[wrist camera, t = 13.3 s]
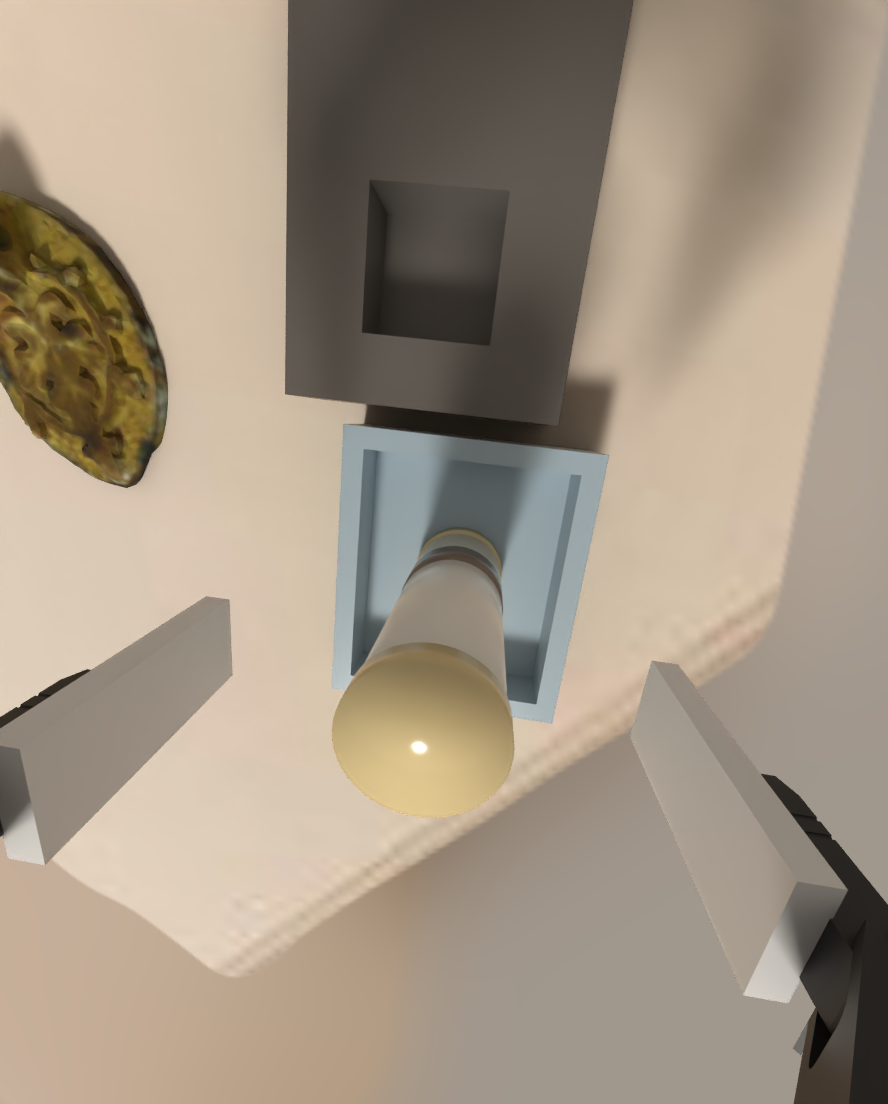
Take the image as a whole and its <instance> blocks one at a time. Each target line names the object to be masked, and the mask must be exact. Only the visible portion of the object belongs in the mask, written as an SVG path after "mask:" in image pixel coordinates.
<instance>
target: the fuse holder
mask: <svg viewBox="0 0 888 1104" xmlns="http://www.w3.org/2000/svg"><path fill="white" fill-rule="evenodd" d="M632 6H633V0H288V108H287V233H286V358H285V394H287V395H294V396H302V397H309V398H316V399H324V400H333V401H341V402H350V403H359V404H368V405H376V406H385V407H394V408H402V409H411V410H420V411H428V412H437V413H446V414H455V415H463V416H472V417H481V418H489V419H498V420H507V421H515V422H524V423H533V424H542V425H556V426H558V423H559V418H560V412H561V407H562V401H563V395H564V390H565V384H566V378H567V373H568V367H569V361H570V356H571V350H572V344H573V339H574V333H575V328H576V322H577V316H578V311H579V305H580V299H581V294H582V288H583V282H584V277H585V271H586V265H587V260H588V254H589V249H590V243H591V237H592V232H593V226H594V220H595V215H596V209H597V203H598V198H599V192H600V186H601V181H602V175H603V170H604V164H605V158H606V153H607V147H608V141H609V136H610V130H611V124H612V119H613V113H614V107H615V102H616V96H617V91H618V85H619V79H620V74H621V68H622V62H623V57H624V51H625V45H626V40H627V34H628V28H629V23H630V17H631V12H632Z"/></svg>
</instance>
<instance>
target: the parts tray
mask: <svg viewBox="0 0 888 1104" xmlns="http://www.w3.org/2000/svg"><path fill="white" fill-rule="evenodd" d="M608 459H609V455H605V454H602V453H598V452H595V451H589V450H581V449H572V448H564V447H555V446H547V445H538V444H530V443H521V442H513V441H504V440H496V439H487V438H479V437H470V436H462V435H453V434H445V433H436V432H428V431H420V430H411V429H403V428H394V427H386V426H377V425H369V424H343V447H342V470H341V492H340V515H339V537H338V560H337V583H336V605H335V628H334V651H333V673H332V689H338V690H344V691H346V689H347V687H348V685H349V684H350V682H351V680H352V678H353V677H354V675H355V674H356V672H357V671H358V670H359V669H360V667H361V666H362V665H363V664H364V663H365V661H366V659H367V657H368V655H369V654H370V652H371V650H372V648H373V646H374V644H375V642H376V640H377V638H378V636H379V634H380V632H381V631H382V629H383V627H384V625H385V623H386V621H387V619H388V617H389V615H390V613H391V611H392V609H393V608H394V606H395V604H396V602H397V600H398V598H399V596H400V594H401V591H402V588H403V586H404V584H405V582H406V580H407V578H408V576H409V574H410V573H411V571H412V569H413V567H414V566H415V564H416V561H417V558H418V556H419V554H420V552H421V550H422V548H423V546H424V545H425V543H426V542H427V541H428V540H429V539H430V538H431V537H432V536H434V535H435V534H437V533H439V532H441V531H443V530H446V529H450V528H467V529H471V530H474V531H477V532H479V533H481V534H482V535H484V536H485V537H486V538H488V539H489V540H490V541H491V542H492V544H493V545H494V546H495V548H496V550H497V552H498V554H499V557H500V560H501V569H502V579H501V586H502V599H503V616H502V618H503V635H504V652H505V669H506V686H507V697H508V700H509V702H510V706H511V711H512V717H514V718H520V719H526V720H532V721H539V722H545V723H551V724H552V722H553V717H554V713H555V708H556V703H557V699H558V694H559V689H560V684H561V680H562V675H563V670H564V666H565V661H566V656H567V652H568V647H569V642H570V637H571V633H572V628H573V623H574V619H575V614H576V609H577V605H578V600H579V595H580V591H581V586H582V581H583V576H584V572H585V567H586V562H587V558H588V553H589V548H590V544H591V539H592V534H593V529H594V525H595V520H596V515H597V511H598V506H599V501H600V497H601V492H602V487H603V482H604V478H605V473H606V468H607V464H608Z"/></svg>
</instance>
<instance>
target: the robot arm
mask: <svg viewBox="0 0 888 1104" xmlns="http://www.w3.org/2000/svg"><path fill="white" fill-rule="evenodd" d="M231 676H232V652H231V627H230V602H229V600H228V599H221V598H214V597H207V596H206V597H204V598H203V599H201V600H200V601H198V602H197V603H195V604H194V605H192V606H190V607H189V608H187V609H186V610H184V611H183V612H181V613H180V614H178V615H176V616H175V617H173V618H172V619H170V620H169V621H167V622H166V623H164V624H162V625H161V626H159V627H158V628H156V629H155V630H153V631H151V632H150V633H148V634H147V635H145V636H144V637H142V638H141V639H139V640H137V641H136V642H134V643H133V644H131V645H130V646H128V647H127V648H125V649H123V650H122V651H120V652H119V653H117V654H116V655H114V656H113V657H111V658H109V659H108V660H106V661H105V662H103V663H102V664H100V665H98V666H97V667H95V668H94V669H92V670H88V669H87V670H84V671H82V672H79V673H77V674H74V675H72V676H69V677H66V678H64V679H61V680H60V681H58V682H56V683H55V684H53V685H51V686H50V687H48V688H47V689H45V690H43V691H42V692H40V693H39V695H38V696H34V697H32V698H30V699H29V700H27V701H26V702H24V703H22V704H21V706H20V707H19V708H17V707H16V708H14V709H13V710H11V711H9V712H8V713H6V714H5V715H3V716H1V717H0V836H3V839H4V843H5V848H6V852H7V855H8V858H10V859H15V860H21V861H26V862H31V863H37V864H43V865H46V863H47V862H48V861H49V860H50V859H51V858H52V857H53V856H54V855H55V854H56V853H57V852H58V851H59V850H60V849H61V848H62V847H63V846H64V845H65V844H66V843H67V842H68V841H69V840H70V839H71V838H72V837H73V836H74V835H75V834H76V833H77V832H78V831H79V830H80V829H81V828H82V827H83V826H84V825H85V824H86V823H87V822H88V821H89V820H90V819H91V818H92V817H93V816H94V815H95V814H96V813H97V812H98V811H99V810H100V809H101V808H102V807H103V806H104V805H105V804H106V803H107V802H108V801H109V800H110V799H111V798H112V797H113V796H114V795H115V794H116V793H117V792H118V791H119V790H120V789H121V787H122V786H123V785H124V784H125V783H126V782H127V781H128V780H129V779H130V778H131V777H132V776H133V775H134V774H135V773H136V772H137V771H138V770H139V769H140V768H141V767H142V766H143V765H144V764H145V763H146V762H147V761H148V760H149V759H150V758H151V757H152V756H153V755H154V754H155V753H156V752H157V751H158V750H159V749H160V748H161V747H162V746H163V745H164V744H165V743H166V742H167V741H168V740H169V739H170V738H171V737H172V736H173V735H174V734H175V733H176V732H177V731H178V730H179V729H180V728H181V727H182V726H183V725H184V724H185V723H186V722H187V721H188V720H189V719H190V718H191V717H192V716H193V715H194V714H195V713H196V712H197V710H198V709H199V708H200V707H201V706H202V705H203V704H204V703H205V702H206V701H207V700H208V699H209V698H210V697H211V696H212V695H213V694H214V693H215V692H216V691H217V690H218V689H219V688H220V687H221V686H222V685H223V684H224V683H225V682H226V681H227V680H228V679H229V678H230V677H231ZM630 737H631V739H632V742H633V744H634V747H635V749H636V751H637V753H638V756H639V758H640V760H641V763H642V765H643V767H644V769H645V772H646V774H647V776H648V779H649V781H650V783H651V785H652V787H653V790H654V792H655V795H656V797H657V799H658V802H659V803H660V806H661V808H662V811H663V813H664V815H665V817H666V820H667V822H668V824H669V827H670V829H671V831H672V834H673V836H674V838H675V840H676V843H677V845H678V847H679V850H680V852H681V854H682V856H683V859H684V861H685V863H686V866H687V868H688V870H689V872H690V875H691V877H692V879H693V882H694V884H695V886H696V889H697V890H698V893H699V895H700V898H701V900H702V902H703V905H704V907H705V909H706V911H707V913H708V916H709V918H710V920H711V923H712V925H713V927H714V929H715V932H716V934H717V937H718V939H719V941H720V943H721V946H722V948H723V950H724V952H725V955H726V957H727V959H728V962H729V964H730V966H731V968H732V971H733V973H734V976H735V978H736V980H737V982H738V985H739V987H740V989H741V991H742V994H743V995H745V996H751V997H756V998H762V999H768V1000H773V1001H778V1002H784V1003H789V1001H790V999H791V997H792V995H793V993H794V991H795V989H796V988H797V986H798V984H799V982H800V980H801V981H802V983H803V985H804V987H805V989H806V990H807V992H808V994H809V996H810V998H811V1000H812V1001H813V1003H814V1005H815V1007H816V1008H815V1010H814V1012H813V1014H812V1015H811V1017H810V1019H809V1021H808V1022H807V1024H806V1026H805V1028H804V1030H803V1031H802V1033H801V1035H800V1037H799V1038H798V1040H797V1042H796V1044H795V1046H794V1047H793V1049H794V1050H795V1051H797V1052H798V1053H799V1054H800V1055H801V1054H802V1053H803V1055H802V1061H801V1066H800V1072H799V1077H798V1083H797V1088H796V1094H795V1099H794V1104H888V904H887V903H886V902H885V901H884V899H883V898H882V897H881V896H880V895H879V893H878V892H877V891H876V890H875V888H874V887H873V886H872V885H871V883H870V882H869V881H868V880H867V879H866V877H865V876H864V875H863V874H862V872H861V871H860V870H859V869H858V868H857V866H856V865H855V864H854V863H853V861H852V860H851V859H850V858H849V856H848V855H847V854H846V853H845V851H844V850H843V849H842V848H841V847H840V845H839V844H838V843H837V842H836V841H835V840H832V838H831V834H830V833H829V832H828V831H827V829H826V828H825V827H824V826H823V824H822V823H821V822H819V821H817V817H816V816H815V815H814V813H813V812H812V811H811V810H810V808H809V807H808V806H807V805H806V803H805V802H804V801H803V800H802V799H801V797H800V796H799V795H798V794H796V793H795V792H794V791H793V790H791V789H790V788H789V787H788V786H787V785H785V784H784V783H783V782H782V781H781V780H779V779H778V778H777V777H776V776H771V775H764V774H760V773H759V771H758V770H757V769H756V767H755V766H754V765H753V763H752V762H751V761H750V759H749V758H748V757H747V755H746V754H745V753H744V751H743V750H742V749H741V747H740V746H739V745H738V744H737V742H736V741H735V739H734V738H733V737H732V735H731V734H730V733H729V731H728V730H727V729H726V728H725V726H724V725H723V724H722V722H721V721H720V720H719V718H718V717H717V716H716V714H715V713H714V712H713V710H712V709H711V708H710V706H709V705H708V704H707V702H706V701H705V700H704V698H703V697H702V696H701V695H700V693H699V692H698V690H697V689H696V688H695V686H694V685H693V684H692V682H691V681H690V680H689V678H688V677H687V676H686V674H685V673H684V672H683V670H682V669H681V668H680V667H679V665H678V664H671V663H664V662H657V661H652V662H651V665H650V669H649V672H648V676H647V679H646V683H645V686H644V690H643V694H642V697H641V701H640V704H639V708H638V711H637V715H636V718H635V722H634V725H633V729H632V732H631V736H630Z"/></svg>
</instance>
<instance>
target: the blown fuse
mask: <svg viewBox="0 0 888 1104" xmlns="http://www.w3.org/2000/svg"><path fill="white" fill-rule="evenodd" d="M501 579H502V569H501V560H500V557H499V554H498V552H497V550H496V548H495V546H494V545H493V544H492V542H491V541H490V540H489V539H488V538H486V537H485V536H484V535H482V534H481V533H479V532H477V531H474V530H471V529H467V528H450V529H446V530H443V531H441V532H439V533H437V534H435V535H434V536H432V537H431V538H430V539H429V540H428V541H427V542H426V543H425V545H424V546H423V548H422V550H421V552H420V554H419V556H418V558H417V561H416V564H415V566H414V567H413V569H412V571H411V573H410V574H409V576H408V578H407V580H406V582H405V584H404V586H403V588H402V591H401V594H400V596H399V598H398V600H397V602H396V604H395V606H394V608H393V609H392V611H391V613H390V615H389V617H388V619H387V621H386V623H385V625H384V627H383V629H382V631H381V632H380V634H379V636H378V638H377V640H376V642H375V644H374V646H373V648H372V650H371V652H370V654H369V655H368V657H367V659H366V661H365V663H364V664H363V665H362V666H361V667H360V669H359V670H358V671H357V672H356V674H355V675H354V677H353V678H352V680H351V682H350V684H349V685H348V687H347V689H346V691H345V693H344V695H343V697H342V699H341V700H340V702H339V705H338V707H337V709H336V711H335V715H334V718H333V725H332V741H333V747H334V751H335V754H336V757H337V760H338V762H339V764H340V766H341V768H342V770H343V771H344V773H345V774H346V776H347V777H348V778H349V780H350V781H351V782H352V783H353V784H354V785H355V786H356V787H357V788H358V789H359V790H360V791H361V792H362V793H363V794H365V795H366V796H367V797H369V798H370V799H371V800H373V801H375V802H376V803H378V804H380V805H382V806H384V807H386V808H388V809H390V810H393V811H396V812H399V813H402V814H406V815H410V816H416V817H426V818H437V817H447V816H452V815H457V814H460V813H463V812H467V811H469V810H471V809H473V808H475V807H478V806H479V805H481V804H482V803H484V802H485V801H487V800H488V799H489V798H490V797H492V796H493V795H494V794H495V793H496V792H497V791H498V789H499V788H500V787H501V786H502V784H503V783H504V781H505V780H506V778H507V776H508V774H509V772H510V769H511V766H512V762H513V757H514V735H513V721H512V711H511V706H510V702H509V700H508V697H507V686H506V669H505V652H504V635H503V618H502V616H503V599H502V586H501Z"/></svg>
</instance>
